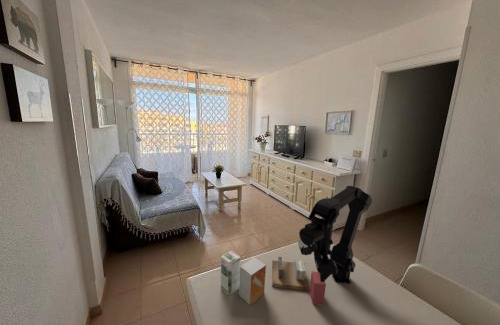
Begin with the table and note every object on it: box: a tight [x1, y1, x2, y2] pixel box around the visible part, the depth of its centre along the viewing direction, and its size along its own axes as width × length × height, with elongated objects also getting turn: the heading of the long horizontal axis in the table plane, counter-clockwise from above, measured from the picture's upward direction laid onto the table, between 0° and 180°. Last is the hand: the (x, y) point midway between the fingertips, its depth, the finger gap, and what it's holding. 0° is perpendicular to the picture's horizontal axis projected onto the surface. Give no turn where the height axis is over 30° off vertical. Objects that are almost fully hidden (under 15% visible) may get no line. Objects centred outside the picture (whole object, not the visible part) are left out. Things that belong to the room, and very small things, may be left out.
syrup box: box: [220, 250, 241, 297], centre depth 81 cm, size 6×6×14 cm
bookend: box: [277, 256, 283, 279], centre depth 89 cm, size 2×8×4 cm, turn 174°
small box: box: [238, 257, 267, 306], centre depth 78 cm, size 8×6×13 cm
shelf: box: [271, 259, 308, 291], centre depth 89 cm, size 14×14×2 cm
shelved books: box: [294, 258, 306, 280], centre depth 88 cm, size 3×7×4 cm, turn 174°
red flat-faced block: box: [308, 271, 327, 306], centre depth 78 cm, size 4×6×9 cm, turn 174°
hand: (319, 272), depth 77 cm, fingers open, 9 cm apart
